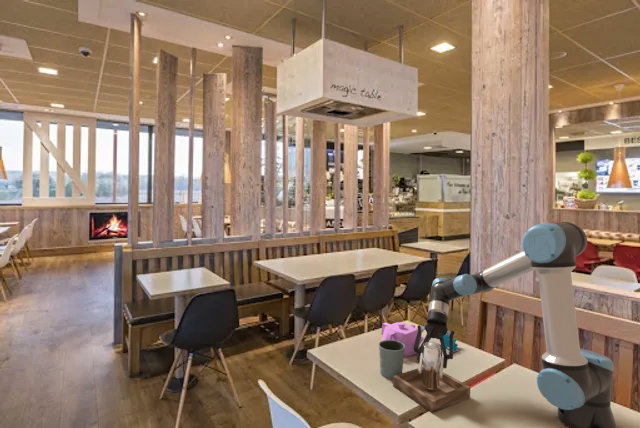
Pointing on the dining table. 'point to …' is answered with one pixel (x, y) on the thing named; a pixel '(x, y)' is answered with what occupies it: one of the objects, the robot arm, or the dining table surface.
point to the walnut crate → (428, 398)
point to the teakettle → (401, 335)
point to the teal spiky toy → (446, 342)
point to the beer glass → (431, 364)
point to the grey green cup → (391, 358)
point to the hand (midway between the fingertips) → (430, 374)
